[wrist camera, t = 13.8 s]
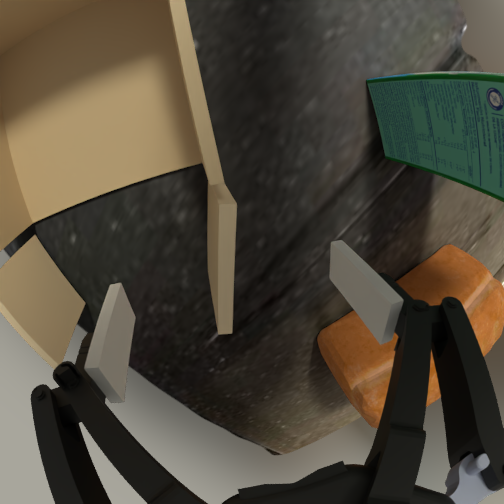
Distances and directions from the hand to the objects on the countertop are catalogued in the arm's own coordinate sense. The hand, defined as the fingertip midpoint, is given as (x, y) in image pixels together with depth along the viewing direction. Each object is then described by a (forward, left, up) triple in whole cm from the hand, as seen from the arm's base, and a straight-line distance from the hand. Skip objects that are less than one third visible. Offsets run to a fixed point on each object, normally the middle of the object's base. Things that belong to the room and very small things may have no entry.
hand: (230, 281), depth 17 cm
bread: (+20, +22, -11) cm, 32 cm away
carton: (-16, -9, -11) cm, 21 cm away
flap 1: (0, -18, -10) cm, 21 cm away
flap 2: (0, 0, -10) cm, 10 cm away
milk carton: (-8, +23, -11) cm, 27 cm away
